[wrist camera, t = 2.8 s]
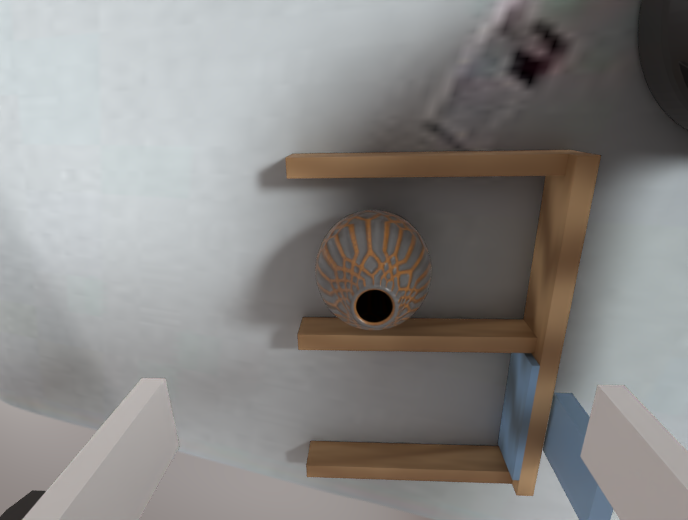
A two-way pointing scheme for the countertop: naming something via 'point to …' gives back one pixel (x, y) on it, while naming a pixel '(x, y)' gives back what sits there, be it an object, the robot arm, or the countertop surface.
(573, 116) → the countertop surface
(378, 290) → the vase
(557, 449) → the tab
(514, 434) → the rack
